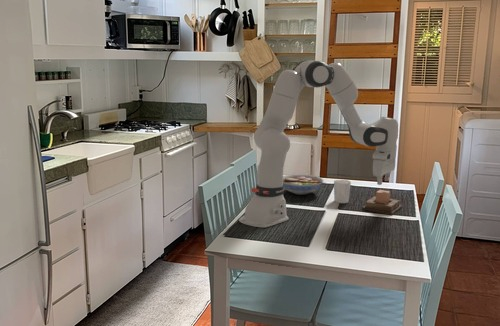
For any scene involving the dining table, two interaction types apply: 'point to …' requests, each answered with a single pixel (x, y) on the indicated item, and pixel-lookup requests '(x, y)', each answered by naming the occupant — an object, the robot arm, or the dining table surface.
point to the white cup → (341, 191)
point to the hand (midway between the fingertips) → (383, 182)
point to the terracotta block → (383, 197)
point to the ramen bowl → (301, 183)
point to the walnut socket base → (382, 206)
